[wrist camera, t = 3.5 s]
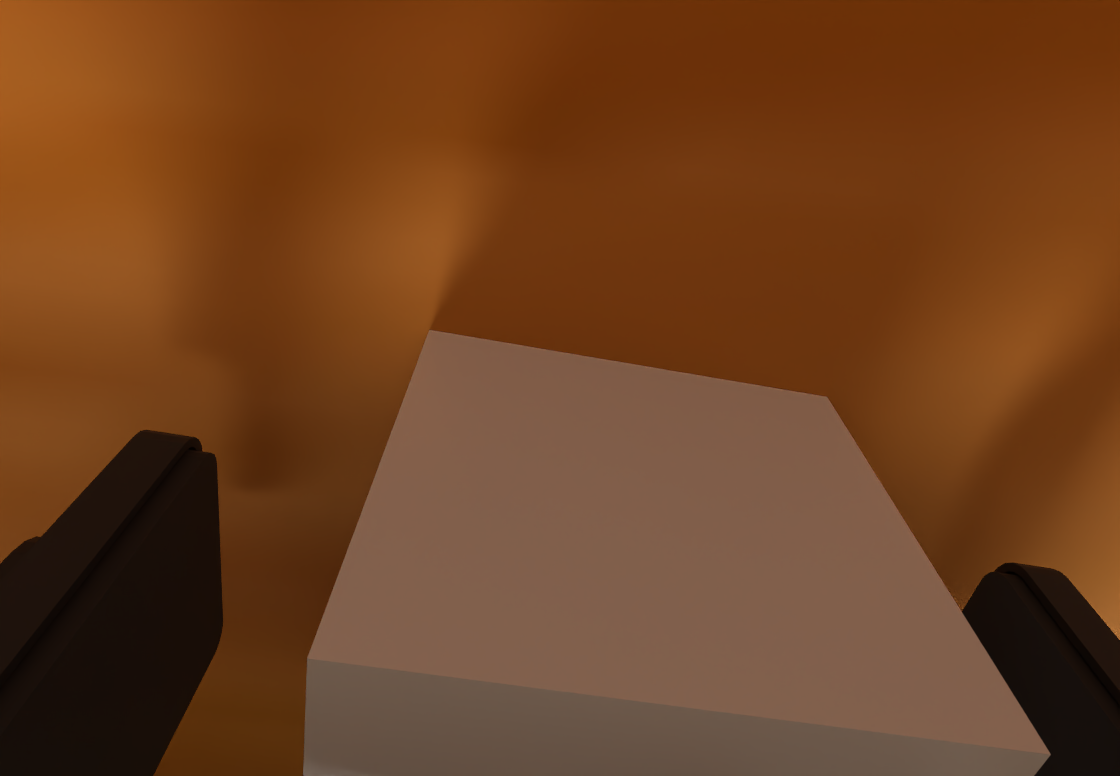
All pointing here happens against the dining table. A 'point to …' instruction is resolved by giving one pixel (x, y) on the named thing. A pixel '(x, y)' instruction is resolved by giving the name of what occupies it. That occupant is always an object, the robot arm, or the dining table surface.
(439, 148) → the dining table surface
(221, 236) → the dining table surface
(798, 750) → the light grey cube
